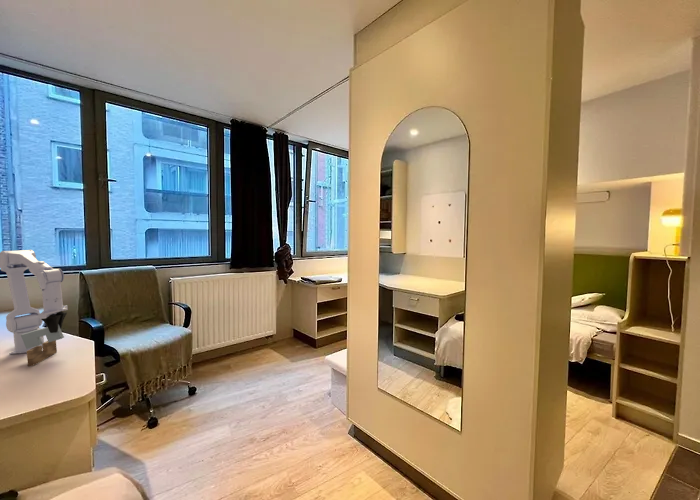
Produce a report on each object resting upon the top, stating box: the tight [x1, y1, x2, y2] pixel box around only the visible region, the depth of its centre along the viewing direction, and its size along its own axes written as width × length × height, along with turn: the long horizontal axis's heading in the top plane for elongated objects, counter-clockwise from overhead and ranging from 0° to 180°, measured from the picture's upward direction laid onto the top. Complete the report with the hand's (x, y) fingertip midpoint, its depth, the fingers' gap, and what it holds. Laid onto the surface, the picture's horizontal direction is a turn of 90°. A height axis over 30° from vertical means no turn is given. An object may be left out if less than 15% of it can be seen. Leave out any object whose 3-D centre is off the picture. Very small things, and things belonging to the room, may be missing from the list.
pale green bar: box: [21, 324, 65, 349], centre depth 123 cm, size 2×12×6 cm, turn 106°
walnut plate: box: [26, 340, 58, 367], centre depth 123 cm, size 14×2×6 cm, turn 16°
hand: (55, 331), depth 124 cm, fingers closed on pale green bar, 2 cm apart
